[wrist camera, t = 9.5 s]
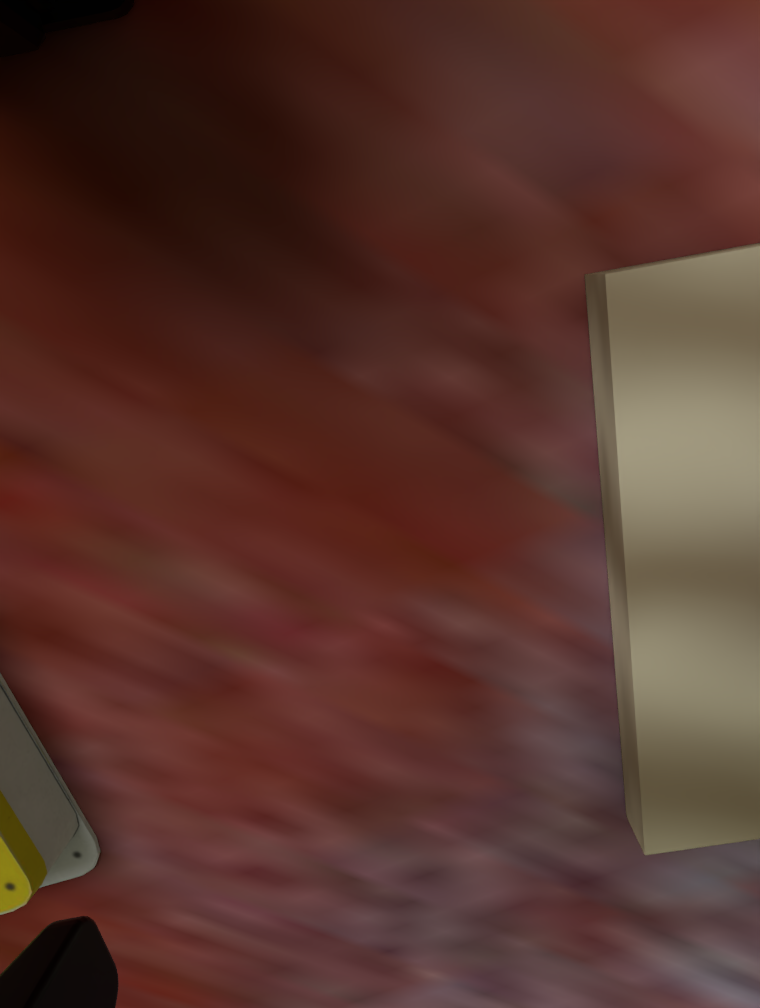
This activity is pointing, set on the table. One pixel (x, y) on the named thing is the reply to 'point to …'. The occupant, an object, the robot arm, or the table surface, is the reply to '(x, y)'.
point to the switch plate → (683, 537)
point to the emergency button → (35, 814)
